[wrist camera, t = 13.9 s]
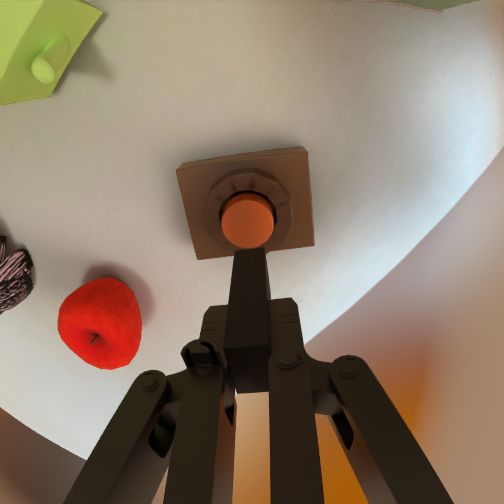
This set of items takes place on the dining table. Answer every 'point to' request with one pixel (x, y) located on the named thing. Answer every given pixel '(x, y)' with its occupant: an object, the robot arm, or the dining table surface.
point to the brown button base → (248, 181)
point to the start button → (247, 220)
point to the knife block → (424, 4)
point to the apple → (101, 323)
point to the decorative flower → (14, 276)
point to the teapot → (39, 44)
